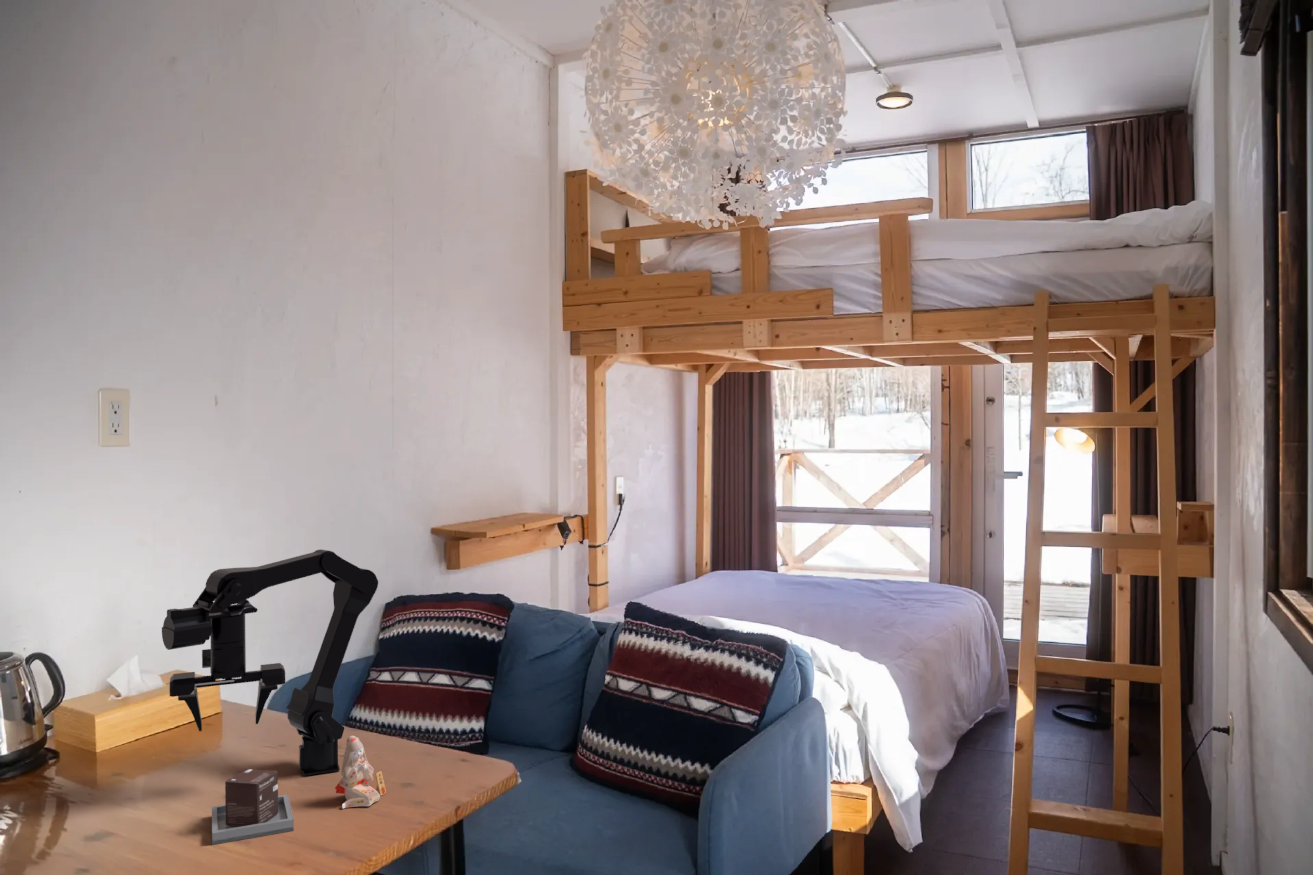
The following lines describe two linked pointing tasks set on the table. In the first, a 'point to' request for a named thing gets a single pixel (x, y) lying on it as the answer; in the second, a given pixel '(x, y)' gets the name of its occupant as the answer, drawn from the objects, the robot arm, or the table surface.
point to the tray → (234, 833)
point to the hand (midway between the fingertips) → (228, 726)
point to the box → (251, 797)
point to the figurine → (358, 777)
